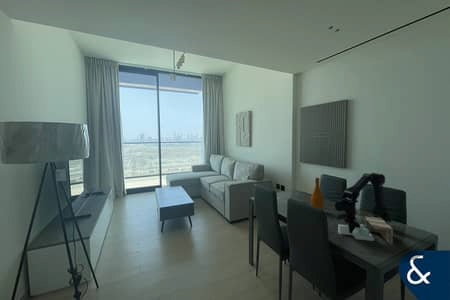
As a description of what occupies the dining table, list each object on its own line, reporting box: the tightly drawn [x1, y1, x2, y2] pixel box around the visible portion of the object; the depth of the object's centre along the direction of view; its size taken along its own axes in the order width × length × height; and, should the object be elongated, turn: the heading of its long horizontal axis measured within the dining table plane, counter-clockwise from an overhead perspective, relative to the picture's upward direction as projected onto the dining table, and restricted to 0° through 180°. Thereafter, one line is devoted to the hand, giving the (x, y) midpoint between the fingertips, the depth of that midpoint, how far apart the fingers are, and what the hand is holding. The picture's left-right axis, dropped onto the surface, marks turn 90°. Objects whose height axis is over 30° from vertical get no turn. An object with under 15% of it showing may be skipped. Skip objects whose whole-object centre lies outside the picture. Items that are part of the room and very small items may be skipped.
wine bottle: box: [310, 177, 324, 211], centre depth 167 cm, size 10×10×30 cm
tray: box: [337, 223, 375, 242], centre depth 127 cm, size 12×18×6 cm, turn 74°
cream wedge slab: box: [364, 216, 394, 246], centre depth 123 cm, size 16×9×10 cm, turn 161°
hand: (350, 231), depth 128 cm, fingers closed on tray, 2 cm apart
